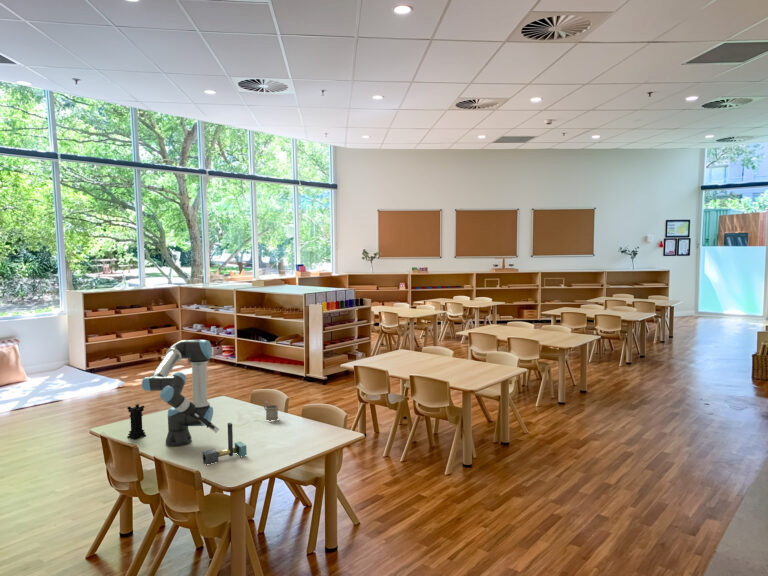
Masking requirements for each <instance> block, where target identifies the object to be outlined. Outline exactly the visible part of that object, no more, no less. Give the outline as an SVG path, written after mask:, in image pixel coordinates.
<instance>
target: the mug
mask: <svg viewBox="0 0 768 576" xmlns="http://www.w3.org/2000/svg"><path fill="white" fill-rule="evenodd" d="M263 408H264V411H265V412H266V413H265V415H266V417H265V419H266V420H269V421H271V420H277V419H278V418H279V414H278V413H279V412H278V411H279V410H278V408H279V406H278V405H276V404H270V405H269V403H268V401H264V402H263Z"/></svg>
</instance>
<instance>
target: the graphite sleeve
mask: <svg viewBox="0 0 768 576" xmlns="http://www.w3.org/2000/svg"><path fill="white" fill-rule="evenodd" d="M218 452H219V451H218V450H217V449H216V448H213V449H212V448H211V449H208V450H204V451H202V463H203V464H204V465H205V464H206V465H205V466H208V465H207V464H210V465H212V464H211V463H214V464H216V463H215V462H217V463H219V457H218Z"/></svg>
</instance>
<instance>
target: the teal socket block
mask: <svg viewBox="0 0 768 576" xmlns="http://www.w3.org/2000/svg"><path fill="white" fill-rule="evenodd" d="M233 445H234V448H235V447H239V452H236V453H237V454H238V455H239V456H240V457H239V456H238V455H237V454H236V455H237V456H238V457H239V458H242V457H241V456H245V455H247V454H248V453H247V445H246V444H245V443H244V442H242V441H241V440H240V441H237V442H233ZM245 457H246V456H245Z"/></svg>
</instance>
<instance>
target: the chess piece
mask: <svg viewBox="0 0 768 576" xmlns="http://www.w3.org/2000/svg"><path fill="white" fill-rule="evenodd" d="M134 405H135V406H134V407H132V406H130V405H129V406H127V408H126V409H127V410H128V413H129V414H130V415H129V416H128V417H130V430H129V431H128V432H129V433H128V434H127V437H126V438H129V439H131V440H134V441H136V440H138V439H142V438H144V437H147V434H146V432H145V429H143V416H144V414H143V413H142V412H144V408H145V405H140V404H139V403H137V404H134Z"/></svg>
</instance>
